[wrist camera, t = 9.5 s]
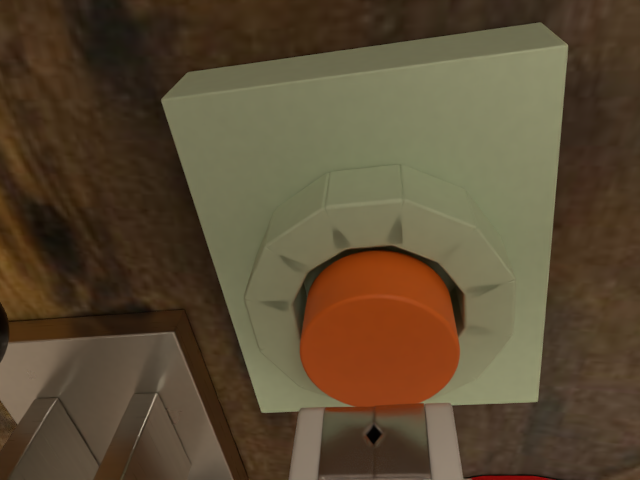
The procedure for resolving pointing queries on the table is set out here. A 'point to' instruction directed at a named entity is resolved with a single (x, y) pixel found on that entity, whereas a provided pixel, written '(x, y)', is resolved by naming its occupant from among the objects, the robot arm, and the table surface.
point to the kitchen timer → (509, 478)
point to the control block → (382, 192)
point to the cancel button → (379, 330)
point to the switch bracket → (112, 402)
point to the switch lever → (3, 332)
